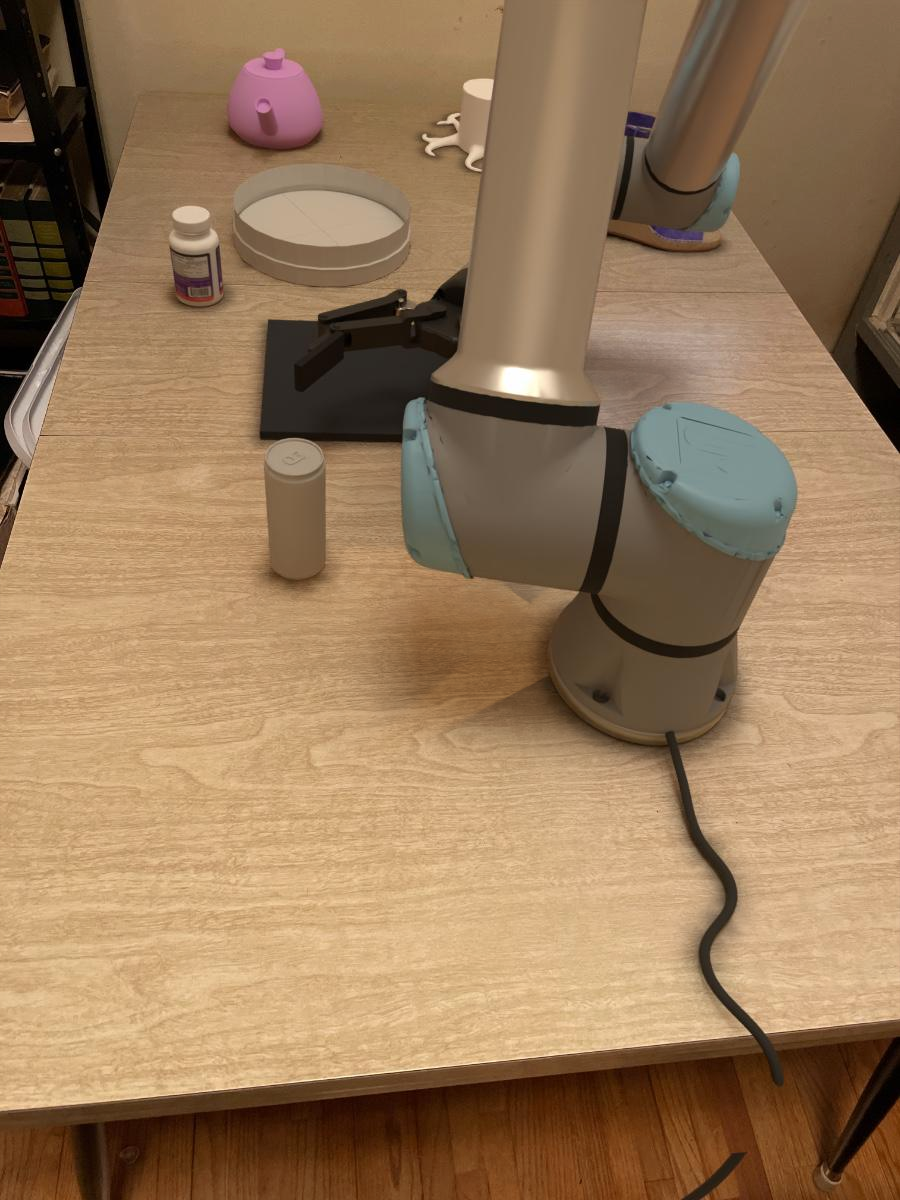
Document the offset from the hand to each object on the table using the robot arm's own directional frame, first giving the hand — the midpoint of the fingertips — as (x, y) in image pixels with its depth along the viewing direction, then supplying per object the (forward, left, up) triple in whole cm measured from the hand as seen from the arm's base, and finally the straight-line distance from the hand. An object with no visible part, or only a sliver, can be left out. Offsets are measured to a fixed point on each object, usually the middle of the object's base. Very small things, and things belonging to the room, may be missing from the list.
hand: (363, 407), depth 82 cm
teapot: (+80, +11, -11) cm, 82 cm away
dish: (+49, +4, -11) cm, 50 cm away
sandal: (+55, -40, -11) cm, 69 cm away
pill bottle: (+35, +18, -11) cm, 41 cm away
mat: (+19, 0, -11) cm, 22 cm away
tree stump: (+81, -20, -11) cm, 84 cm away
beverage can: (-8, +6, -11) cm, 15 cm away
